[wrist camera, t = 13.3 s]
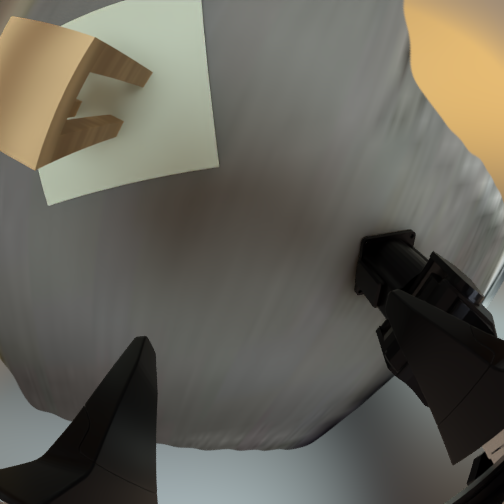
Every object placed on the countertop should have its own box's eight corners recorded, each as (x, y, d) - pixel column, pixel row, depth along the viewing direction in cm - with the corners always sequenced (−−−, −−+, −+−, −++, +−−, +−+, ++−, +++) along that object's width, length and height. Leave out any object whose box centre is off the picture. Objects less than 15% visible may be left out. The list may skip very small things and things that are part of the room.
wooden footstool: (153, 72, 14) (94, 37, 5) (116, 136, 16) (34, 170, 7) (96, 48, 12) (11, 16, 3) (63, 111, 14) (-35, 130, 5)
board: (200, -11, 12) (199, -16, 11) (218, 163, 19) (219, 166, 18) (31, 47, 10) (24, 45, 10) (53, 201, 18) (48, 205, 17)
